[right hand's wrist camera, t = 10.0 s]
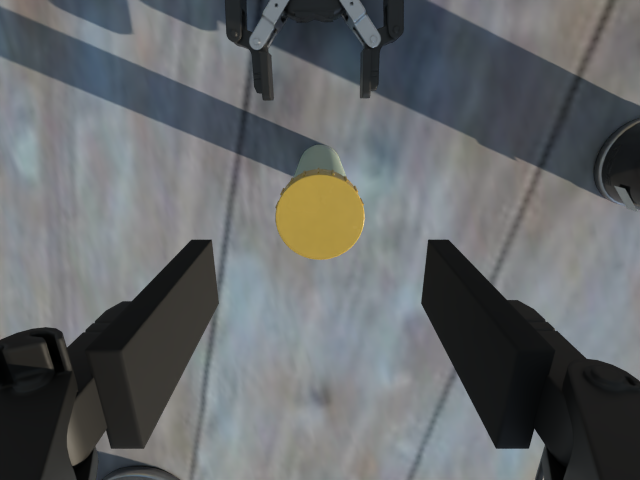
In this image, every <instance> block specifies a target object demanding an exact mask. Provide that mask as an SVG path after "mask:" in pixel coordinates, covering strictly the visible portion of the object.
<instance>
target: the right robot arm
mask: <svg viewBox="0 0 640 480" xmlns="http://www.w3.org/2000/svg"><path fill="white" fill-rule="evenodd" d="M218 304H219V301H218V292H217V283H216V274H215V265H214V256H213V247H212V240H191V241H190V242H189V243H188V244H187V245H186V246H185V247H184V248H183V249H182V250H181V251H180V252H179V253H178V254H177V255H176V256H175V257H174V258H173V259H172V260H171V261H170V263H169V264H168V265H167V266H166V267H165V268H164V269H163V270H162V271H161V272H160V273H159V274H158V275H157V276H156V277H155V278H154V279H153V280H152V281H151V282H150V283H149V284H148V285H147V286H146V287H145V288H144V289H143V290H142V291H141V292H140V293H139V295H138V296H137V297H136V298H135V299H134V300H133V301H123V302H121V303H119V304H117V305H115V306H114V307H112V308H110V309H108V310H106V311H105V312H104V313H103V314H102V315H101V316H100V317H99V318H98V319H97V320H96V321H95V323H93V324H92V325H91V326H89V327H88V328H87V329H86V332H83V333H82V334H81V335H80V336H79V337H78V338H77V339H76V340H75V341H74V342H73V343H72V344H71V345H69V346H68V347H66V344H65V340H64V337H63V333H62V332H61V331H59V330H58V329H56V328H47V327H45V328H36V329H30V330H26V331H22V332H19V333H16V334H13V335H11V336H8V337H6V338H4V339H1V340H0V480H96V476H97V469H98V462H99V461H98V454H97V450H96V447H95V446H96V444H97V443H98V441H99V440H100V438H101V437H102V435H103V434H104V432H105V430H106V432H107V435H108V439H109V443H110V446H111V449H144V447H145V445H146V443H147V442H148V440H149V438H150V436H151V434H152V432H153V430H154V428H155V426H156V424H157V422H158V420H159V418H160V416H161V414H162V412H163V411H164V409H165V407H166V405H167V403H168V401H169V399H170V397H171V395H172V393H173V391H174V389H175V387H176V385H177V383H178V381H179V380H180V378H181V376H182V374H183V372H184V370H185V368H186V366H187V364H188V362H189V360H190V358H191V356H192V354H193V352H194V350H195V348H196V347H197V345H198V343H199V341H200V339H201V337H202V335H203V333H204V331H205V329H206V327H207V325H208V323H209V321H210V319H211V317H212V316H213V314H214V312H215V310H216V308H217V306H218ZM421 304H422V306H423V308H424V310H425V312H426V314H427V316H428V317H429V319H430V321H431V323H432V325H433V327H434V329H435V331H436V333H437V335H438V337H439V339H440V341H441V343H442V345H443V347H444V348H445V350H446V352H447V354H448V356H449V358H450V360H451V362H452V364H453V366H454V368H455V370H456V372H457V374H458V376H459V378H460V380H461V381H462V383H463V385H464V387H465V389H466V391H467V393H468V395H469V397H470V399H471V401H472V403H473V405H474V407H475V409H476V411H477V412H478V414H479V416H480V418H481V420H482V422H483V424H484V426H485V428H486V430H487V432H488V434H489V436H490V438H491V440H492V442H493V443H494V445H495V447H496V449H529V446H530V443H531V439H532V435H533V432H534V429H535V430H536V432H537V433H538V435H539V436H540V438H541V439H542V441H543V442H544V444H545V447H544V450H543V454H542V457H541V460H540V464H539V467H538V471H537V474H536V478H535V480H542V479H543V478H544V480H640V381H639V380H638V379H636V378H635V377H633V376H632V375H631V374H629V373H628V372H626V371H624V370H622V369H620V368H618V367H616V366H614V365H611V364H608V363H605V362H602V361H598V360H592V359H586V358H585V357H584V356H583V355H582V354H581V353H580V352H579V351H578V350H577V349H576V348H575V347H573V346H572V345H571V344H570V343H569V342H568V341H567V340H566V339H565V338H564V337H563V336H562V335H561V334H560V333H559V332H558V331H555V329H554V328H553V327H552V326H551V325H550V324H549V323H548V322H545V319H544V318H543V317H542V316H541V315H540V314H539V313H537V312H536V311H535V310H534V309H533V308H531V307H529V306H527V305H525V304H524V303H522V302H520V301H518V300H506V299H505V298H504V297H503V296H502V295H501V293H500V292H499V291H498V290H497V289H496V288H495V287H494V286H493V285H492V284H491V283H490V282H489V281H488V280H487V279H486V278H485V277H484V276H483V275H482V274H481V273H480V272H479V271H478V270H477V269H476V268H475V267H474V266H473V265H472V264H471V263H470V261H469V260H468V259H467V258H466V257H465V256H464V255H463V254H462V253H461V252H460V251H459V250H458V249H457V248H456V247H455V246H454V245H453V244H452V243H451V242H450V241H449V240H428V247H427V256H426V265H425V274H424V283H423V292H422V301H421ZM103 480H180V479H178V478H177V477H175V476H173V475H172V474H170V473H167V472H165V471H162V470H159V469H156V468H151V467H142V466H134V467H126V468H122V469H118V470H116V471H114V472H112V473H110V474H109V475H107V476H106V477H105V478H104V479H103Z"/></svg>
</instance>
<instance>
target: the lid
mask: <svg viewBox="0 0 640 480" xmlns="http://www.w3.org/2000/svg"><path fill="white" fill-rule="evenodd" d="M357 192H358V191H357V188H356V186H353V184H352V183H351V182H350V181H349V180H348V179H347V177H346V176H342V175H341V174H339V173H337V172H334V170H332V171H331V170H326V169H319V168H318V169H313V170H309V171H303V173H301V174H299V175H297V176H296V177H295V178H291V181H290V182H289V183H288V185H287V186H286V187H285V189H284V188H283V190H282V192H281V194H280V195H281V197H280V200H279V201H278V203H277V205H276V226H277V229H278V232H279V234H280V236H281V238H282V240H283V241H284V242H285V244H286V245H287V246H288V247H289V248H290V249H291V250H293V251H294V252H296V253H297V254H299V255H301V256H304V257H306V258H310V259H319V260H322V259H330V258H333V257H337V256H339V255H341V254H343V253H344V252H346V251H347V250H349V249H350V248H351V247H352V246H353V245H354V244H355V242H356V241H357V240H358V238H359V236H360V234H361V232H362V229H363V225H364V220H365V217H364V209H363V205H364V204H363V202H362V199H361V198H360V197H359V195H358V193H357Z"/></svg>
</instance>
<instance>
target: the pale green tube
mask: <svg viewBox="0 0 640 480" xmlns="http://www.w3.org/2000/svg"><path fill="white" fill-rule="evenodd" d="M318 168H319V169H326V170H331V171H332V170H334V172H337V173H339V174H341V175H342V176H346V175H345V172H344V170H343V167H342V164H341V162H340V159H339V157H338V155H337V153H336V152H335V151H334V150H333V149H332V148H330V147H328V146H326V145H314V146H311V147H310V148H308V149H307V150H306V151H305V152H304V153H303V155H302V156H301V159H300V161H299V164H298V167H297V169H296V172H295V175H294V177H293V178H295V177H296V176H297V175H299V174H301V173H303V171H309V170H313V169H318Z"/></svg>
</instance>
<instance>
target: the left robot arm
mask: <svg viewBox="0 0 640 480" xmlns="http://www.w3.org/2000/svg"><path fill="white" fill-rule="evenodd" d="M276 5H277V6H276ZM225 11H226V34H227V37H228V39H229V40H230V41H232V42H234V43H235V44H236V45H237V46H241V47H244V48H247V49H249V50H250V52H251V54H252V63H253V77H254V87H255V89H256V92H257V93H262V97H263V100H265V101H267V100H273V99H274V95H273V77H272V60H271V55H270V54H269V53H268V49H269V47H270V45H271V44H272V42H273V40H274V39H275V37H276V35H277V34H278V33H279V32H280V31H281V29H282V28H283V26H284V24H285V23H286V21H287V20H288V18H291V19H292V20H295V21H296V22H297V23H306V22H309V21H312V20H318V21H322V22H333V20H335V19H337V18H339V17H340V16H342V18H343V19H344V21H345V22H346V24H347V25H348V27H349V28H350V30H351V31H352V32H353V33H354V34H355V36H356V37H357V39H358V40H359V42H360V43H361V45H362V46H363V50H362V52H361V66H360V98H370V91H375V90H376V88H377V86H378V80H379V53H380V49H381V47H382V46H384V45H387V44H389V43H392V42H394V41H395V40H397V39H398V38H399V37H400V36H401V35H402V33H403V30H404V0H383V13H384V27H382V28H379V29H376V28H375V26H374V25H373V23H372V22H371V20H370V18H369V17H368V15H367V12H366V10H365V8H364V6H363V5H362V3H361V2H360V0H270V1H269V2H268V4H267V6H266V8H265V9H264V11H263V13H262V17H261V19H260V21H259V23H258V24H257V26H256V28H255V30H254V31H253V32H250V31H248V30H247V8H246V0H225ZM594 177H595V183H596V186H597V188H598V190H599V191H600V193H601V194H602V195H603V196H604V197H605V198H606V199H608V200H610V201H612V202H614V203H617V204H620V205H624V206H626V208H628V209H631V210H634V211H637V209H639V210H640V118H638V119H636V120H633V121H631V122H629V123H627V124H625V125H624V126H622V127H621V128H619V129H618V130H617V131H616V132H614V133H613V134H612V135H611V136H610V137H609V139H608V140H607V141H606V142H605V144H604V145H603V147H602V148H601V150H600V152H599V154H598V157H597V160H596V163H595V169H594ZM637 212H638V211H637Z"/></svg>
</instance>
